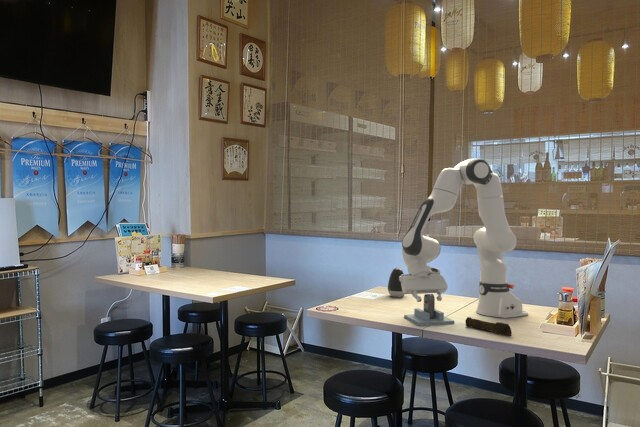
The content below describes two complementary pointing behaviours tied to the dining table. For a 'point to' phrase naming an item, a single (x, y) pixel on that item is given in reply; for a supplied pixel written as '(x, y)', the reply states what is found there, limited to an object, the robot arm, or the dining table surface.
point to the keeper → (428, 318)
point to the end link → (429, 304)
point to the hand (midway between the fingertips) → (429, 300)
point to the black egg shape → (395, 283)
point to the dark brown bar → (489, 326)
